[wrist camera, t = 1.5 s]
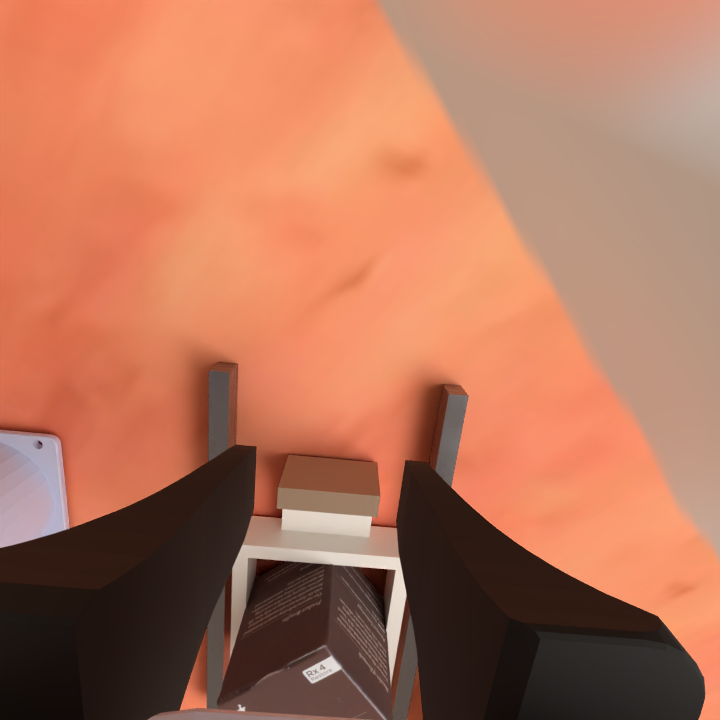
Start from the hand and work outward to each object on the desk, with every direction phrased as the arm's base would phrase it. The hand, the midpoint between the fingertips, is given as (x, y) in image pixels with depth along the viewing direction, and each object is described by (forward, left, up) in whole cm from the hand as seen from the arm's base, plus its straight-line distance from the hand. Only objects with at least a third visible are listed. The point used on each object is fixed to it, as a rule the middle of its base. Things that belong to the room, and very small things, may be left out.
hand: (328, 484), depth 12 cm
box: (0, -14, -10) cm, 17 cm away
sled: (0, -12, -10) cm, 16 cm away
